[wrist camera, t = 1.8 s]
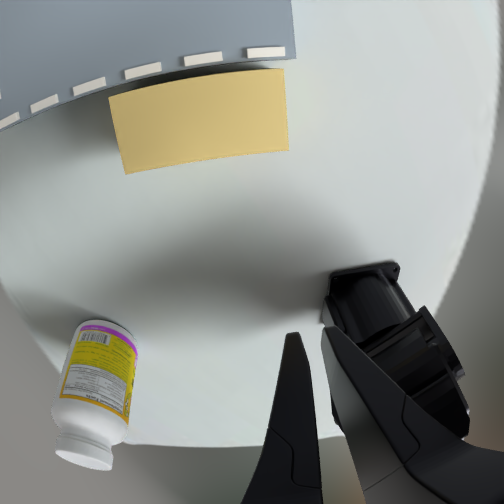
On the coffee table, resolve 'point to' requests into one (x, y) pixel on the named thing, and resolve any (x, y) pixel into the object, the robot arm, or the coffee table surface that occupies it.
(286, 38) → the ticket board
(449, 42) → the coffee table surface
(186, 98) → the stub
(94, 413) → the supplement bottle
